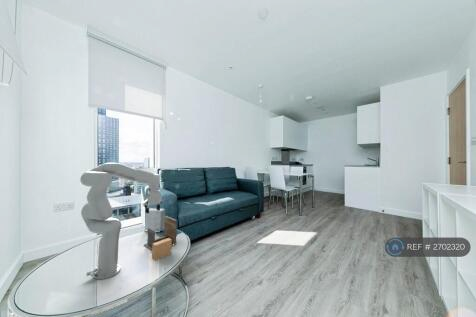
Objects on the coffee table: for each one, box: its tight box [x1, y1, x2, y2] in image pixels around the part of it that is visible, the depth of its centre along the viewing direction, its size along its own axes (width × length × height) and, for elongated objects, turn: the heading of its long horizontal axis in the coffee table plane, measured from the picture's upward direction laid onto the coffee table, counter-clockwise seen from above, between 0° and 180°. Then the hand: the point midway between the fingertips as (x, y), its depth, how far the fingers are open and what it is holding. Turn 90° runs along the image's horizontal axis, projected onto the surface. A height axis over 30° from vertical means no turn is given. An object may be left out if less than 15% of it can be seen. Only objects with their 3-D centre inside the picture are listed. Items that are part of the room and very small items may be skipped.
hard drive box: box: [144, 207, 166, 231], centre depth 166 cm, size 16×8×20 cm, turn 84°
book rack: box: [143, 215, 178, 252], centre depth 139 cm, size 18×16×19 cm
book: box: [151, 238, 172, 261], centre depth 123 cm, size 12×4×10 cm, turn 142°
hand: (152, 211), depth 139 cm, fingers open, 9 cm apart
